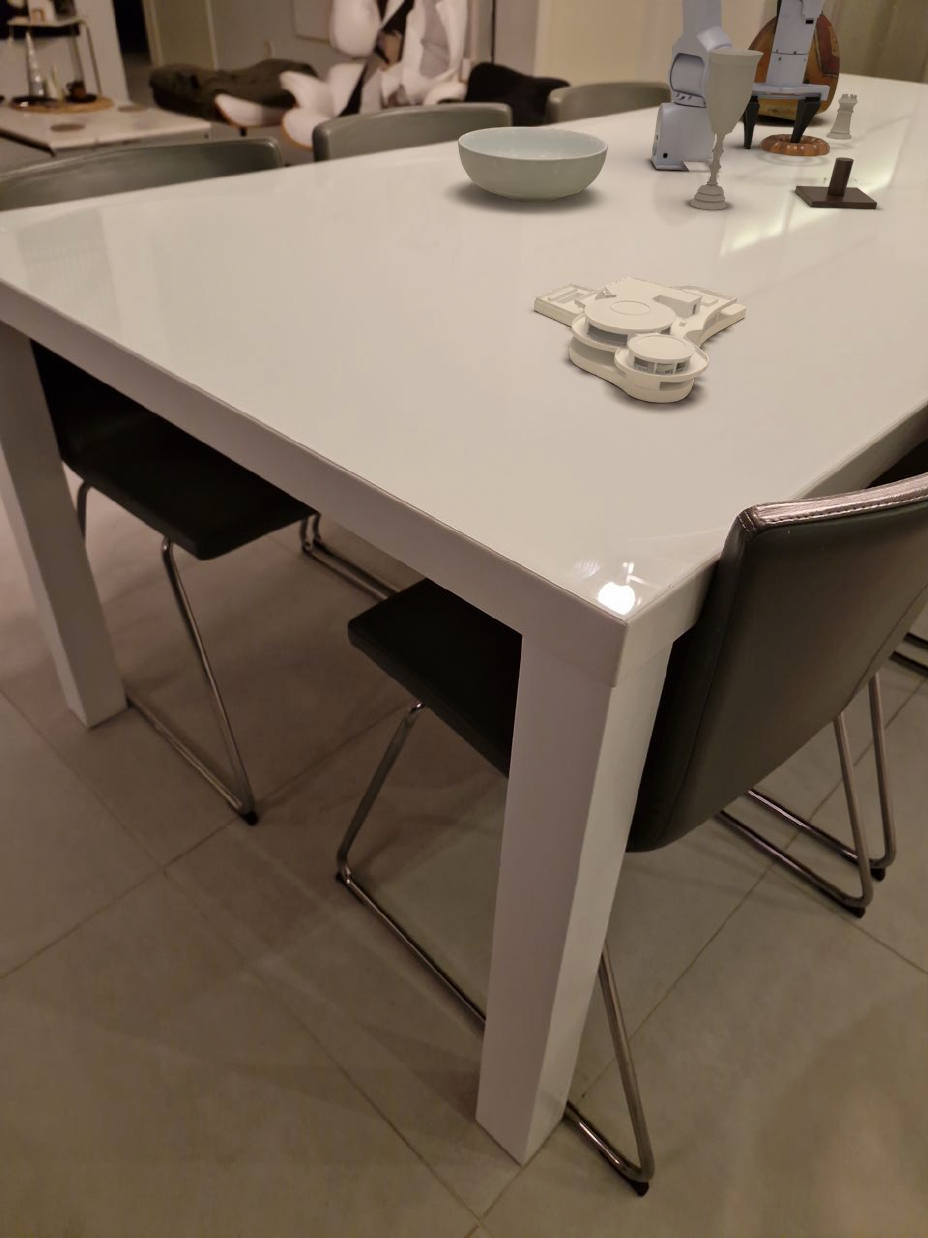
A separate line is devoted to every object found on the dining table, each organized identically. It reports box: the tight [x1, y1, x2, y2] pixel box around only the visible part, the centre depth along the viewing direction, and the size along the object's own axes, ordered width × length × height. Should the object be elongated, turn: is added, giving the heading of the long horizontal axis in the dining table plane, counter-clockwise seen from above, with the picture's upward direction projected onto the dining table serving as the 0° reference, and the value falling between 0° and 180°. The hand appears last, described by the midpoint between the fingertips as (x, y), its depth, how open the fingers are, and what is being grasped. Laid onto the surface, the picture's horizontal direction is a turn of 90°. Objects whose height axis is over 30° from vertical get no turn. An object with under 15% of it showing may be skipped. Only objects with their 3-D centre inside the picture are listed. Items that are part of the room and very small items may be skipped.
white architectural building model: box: [533, 275, 748, 404], centre depth 80 cm, size 23×25×4 cm
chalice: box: [689, 48, 763, 211], centre depth 115 cm, size 7×7×18 cm
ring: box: [758, 133, 831, 158], centre depth 145 cm, size 11×11×3 cm
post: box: [794, 156, 878, 210], centre depth 122 cm, size 9×9×5 cm
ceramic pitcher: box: [747, 0, 841, 121], centre depth 166 cm, size 20×20×30 cm
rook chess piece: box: [826, 93, 859, 141], centre depth 152 cm, size 4×4×8 cm
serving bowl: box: [457, 126, 609, 203], centre depth 121 cm, size 21×21×7 cm
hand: (769, 148), depth 145 cm, fingers open, 7 cm apart
